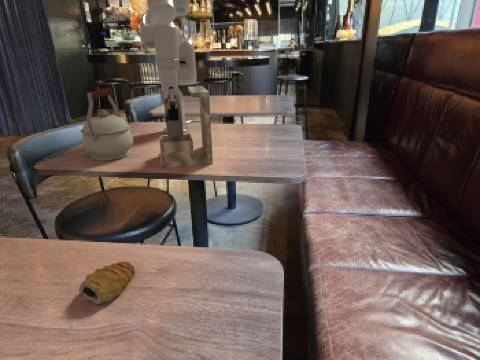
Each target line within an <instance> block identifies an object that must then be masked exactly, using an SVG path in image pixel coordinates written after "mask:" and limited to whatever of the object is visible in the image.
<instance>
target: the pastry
mask: <svg viewBox="0 0 480 360" xmlns="http://www.w3.org/2000/svg"><path fill="white" fill-rule="evenodd" d="M134 274H136V269H135V267H134V265H133V264H131V263H130V262H129V261H119V262H116V263H112V264H109V265H104V266H103V267H102V268H96V269H95V271H94V272H93V273H88V274H87V276H85V279H84V280H82V282H81V284H80V285H79V288H78V292H79V294H80V295H81V296H82V297H83V298H84V299H85V300H86V299H87V300H88V301H90V302H93V303H95V304H96V305H100V304H106V302H107V303H109V302H112V301H114V300H115V299H116V298H117V297H118V296H120V295H121V294H122V293H123V292H124V291H123V289H124V290H126V288H127V287H128V286H129V285H128V283H129V282H130V281H131V279H132V278H133V276H134V277H135V275H134ZM133 279H134V278H133ZM133 279H132V280H133ZM131 282H132V281H131ZM131 282H130V283H131ZM130 283H129V284H130ZM127 285H128V286H127ZM126 286H127V287H126ZM125 287H126V288H125ZM122 291H123V292H122ZM121 292H122V293H121ZM120 293H121V294H120ZM119 294H120V295H119Z"/></svg>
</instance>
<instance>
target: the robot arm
mask: <svg viewBox="0 0 480 360" xmlns="http://www.w3.org/2000/svg"><path fill="white" fill-rule="evenodd" d="M146 4H147V7H148V8H147V10H146V11H145V12H143V14H142V15H141V17H140V19H139V20H140V21H139V36H140V38H139V39H140V41H141V44H142V46H143V47H145V48H146V49H150V50H153V49H155V50H154V51H155V58H156V59H155V60H156V67H157V68H156V70H158V73H157V74H158V78H159V81H160V86H161V92H162V100H163V102H164V100H165V101H166V99H167V98H168V105H169V109H168V112H169V120H170V121H174V120H179V117H178V108H177V103H176V100H177V99H178V93H180V103H181V114H182V126H183V134H185V133H187V132H189V130H190V127H189V126H188V125H192V124H193V122H192V120H191V119H189V120H186V116H185V104H184V95H183V92H182V91H181V90H180V88H179V86H189V85H194V84H195V83H196V82H197V77H198V75H197V65H196V64H197V63H196V53H195V52H196V50H195V46H194V42H193V41H192V39H190V38H187V37H185V38H184V35H183V31H182V30H181V28H180V27H179V26H178V25H176V24H175V23H174V20H175V18H176V16H187V15H188V14H189V12H190V6H191V0H146ZM180 61H183V62H185V63H180ZM169 92H170V93H169ZM169 98H170V99H169ZM174 98H175V99H174ZM170 108H171V109H170ZM163 109H164V111H165V108H164V107H163ZM164 118H165V120H166V117H165V116H164ZM163 133H165V134H167V127H166V126H165V128H163Z"/></svg>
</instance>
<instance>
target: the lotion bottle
mask: <svg viewBox="0 0 480 360" xmlns="http://www.w3.org/2000/svg"><path fill="white" fill-rule="evenodd" d="M169 93H170V92H169ZM169 99H170V98H169ZM174 99H175V98H174ZM176 103H177V108H178V117H179V120H174V121H170V120H169V112H168V109H169V105H168V98H167V99H166V101H165V100H164V101H163V109H164V108H165V110H164V118H165V117H166V119H165V125H166V126H165V128H166V127H167V133H166V135H168V137H173V138H175V137H181V136H183V134H184V133H183V126H182V114H181V103H180V93H178V99H177V100H176ZM170 109H171V108H170Z"/></svg>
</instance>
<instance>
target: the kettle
mask: <svg viewBox="0 0 480 360" xmlns="http://www.w3.org/2000/svg"><path fill="white" fill-rule="evenodd" d="M111 94H112V90H111V89H110V87H105V88H102V89H97V90H95V91H89V92H87V93H86V98H87V100H88V109H87V115H86V121H85V122H84V123H83V126H82V128H81V129H80V133H81V134H82V135H81V136H82V138H81V144H82V147H83V149H84V150H85V152H87V153H88V154H89V155H90V156H91V159H93V160H95V161H113V160H118V159H122V158H125V157H126V156H128V155H129V154H130V150H131V148H132V146H133V144H134V137H133V135H132V132H131V125H130V124H128V122H127V121H126V120H125V119H124V118H122V117H120V116H119V111H118V107H117V105H116V104H115V102H114V100H113V98H112V95H111ZM105 96H107V99H108V101H109V103H110V104H111V107H112V109H113V113H114V115H109V114H110V112H108V110H107V109H103V108H102V109H100V110H99V111H98V112H97V115H98V116H95V117H92V113H93V109H94V100H95V99H100V98H102V97H105Z"/></svg>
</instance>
